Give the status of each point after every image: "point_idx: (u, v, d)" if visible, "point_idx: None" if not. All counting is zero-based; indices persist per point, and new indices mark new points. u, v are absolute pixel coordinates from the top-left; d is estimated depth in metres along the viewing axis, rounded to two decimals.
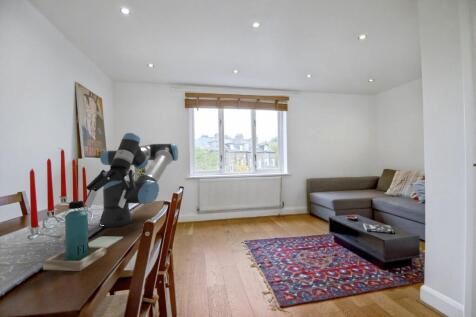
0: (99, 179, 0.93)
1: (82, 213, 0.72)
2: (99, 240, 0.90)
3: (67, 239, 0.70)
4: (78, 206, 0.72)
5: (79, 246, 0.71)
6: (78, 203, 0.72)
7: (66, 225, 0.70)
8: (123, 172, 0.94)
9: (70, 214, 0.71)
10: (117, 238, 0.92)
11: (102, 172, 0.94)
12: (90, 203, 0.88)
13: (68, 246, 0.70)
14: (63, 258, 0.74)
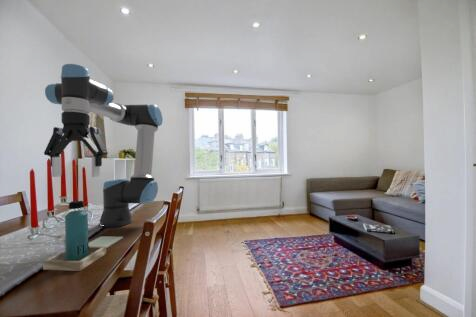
0: (56, 140, 0.73)
1: (82, 213, 0.72)
2: (99, 240, 0.90)
3: (67, 239, 0.70)
4: (78, 206, 0.72)
5: (79, 246, 0.71)
6: (78, 203, 0.72)
7: (66, 225, 0.70)
8: (82, 130, 0.72)
9: (70, 214, 0.71)
10: (117, 238, 0.92)
11: (55, 131, 0.72)
12: (58, 172, 0.74)
13: (68, 246, 0.70)
14: (63, 258, 0.74)
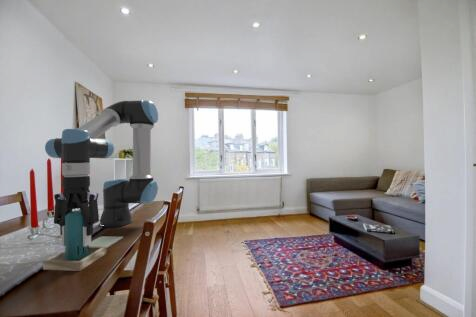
0: (60, 206, 0.73)
1: None
2: (99, 240, 0.90)
3: (67, 239, 0.70)
4: None
5: (79, 246, 0.71)
6: None
7: (66, 225, 0.70)
8: (82, 194, 0.72)
9: (70, 214, 0.71)
10: (117, 238, 0.92)
11: (57, 198, 0.72)
12: None
13: (68, 246, 0.70)
14: (63, 258, 0.74)
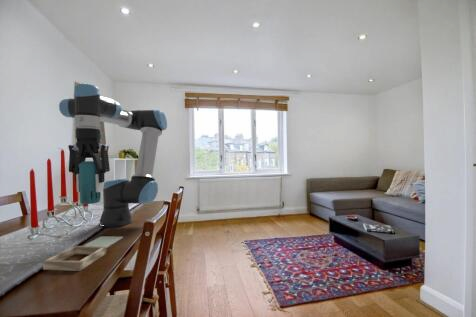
0: (74, 156, 0.80)
1: None
2: (99, 240, 0.90)
3: (81, 185, 0.77)
4: None
5: (92, 191, 0.78)
6: None
7: (80, 172, 0.77)
8: (94, 145, 0.78)
9: (83, 162, 0.77)
10: (117, 238, 0.92)
11: (71, 148, 0.79)
12: None
13: (82, 191, 0.77)
14: (63, 258, 0.74)
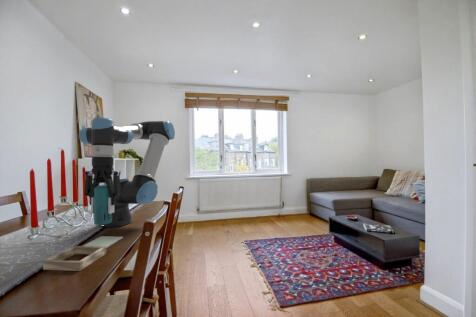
0: (90, 181, 0.89)
1: None
2: (99, 240, 0.90)
3: (96, 207, 0.86)
4: (104, 181, 0.88)
5: (105, 213, 0.87)
6: None
7: (95, 195, 0.86)
8: (108, 171, 0.88)
9: (98, 187, 0.87)
10: (117, 238, 0.92)
11: (87, 174, 0.88)
12: None
13: (97, 213, 0.86)
14: (63, 258, 0.74)
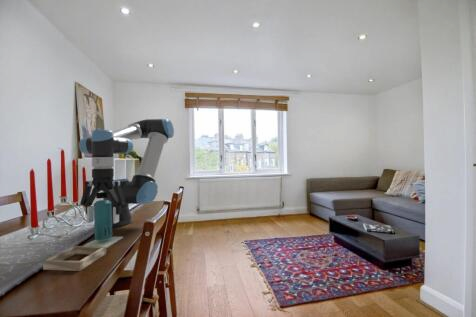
0: (88, 191, 0.89)
1: (107, 202, 0.88)
2: (99, 240, 0.90)
3: (96, 223, 0.86)
4: (104, 196, 0.88)
5: (105, 229, 0.87)
6: (104, 194, 0.88)
7: (94, 211, 0.86)
8: (108, 183, 0.88)
9: (98, 202, 0.87)
10: (117, 238, 0.92)
11: (86, 184, 0.88)
12: (92, 218, 0.90)
13: (97, 228, 0.86)
14: (63, 258, 0.74)
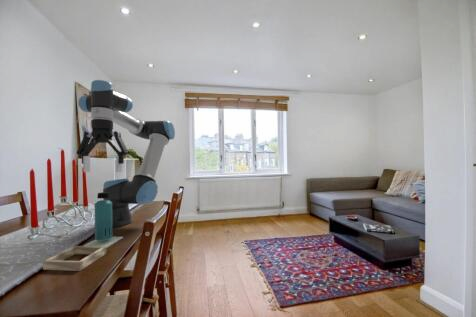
0: (86, 142, 0.89)
1: (108, 202, 0.88)
2: None
3: (96, 223, 0.86)
4: (105, 196, 0.88)
5: (106, 229, 0.87)
6: (105, 194, 0.88)
7: (95, 211, 0.86)
8: (108, 134, 0.88)
9: (99, 202, 0.87)
10: (117, 238, 0.92)
11: (86, 135, 0.88)
12: (88, 168, 0.90)
13: (97, 228, 0.86)
14: (63, 258, 0.74)
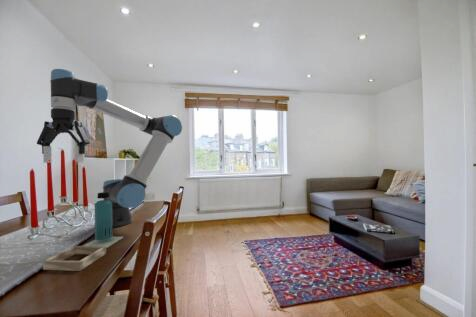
0: (46, 132, 0.88)
1: (108, 202, 0.88)
2: None
3: (96, 223, 0.86)
4: (105, 196, 0.88)
5: (106, 229, 0.87)
6: (105, 194, 0.88)
7: (95, 211, 0.87)
8: (68, 124, 0.87)
9: (99, 202, 0.87)
10: (117, 238, 0.92)
11: (46, 124, 0.87)
12: (49, 159, 0.89)
13: (97, 228, 0.86)
14: (63, 258, 0.74)
